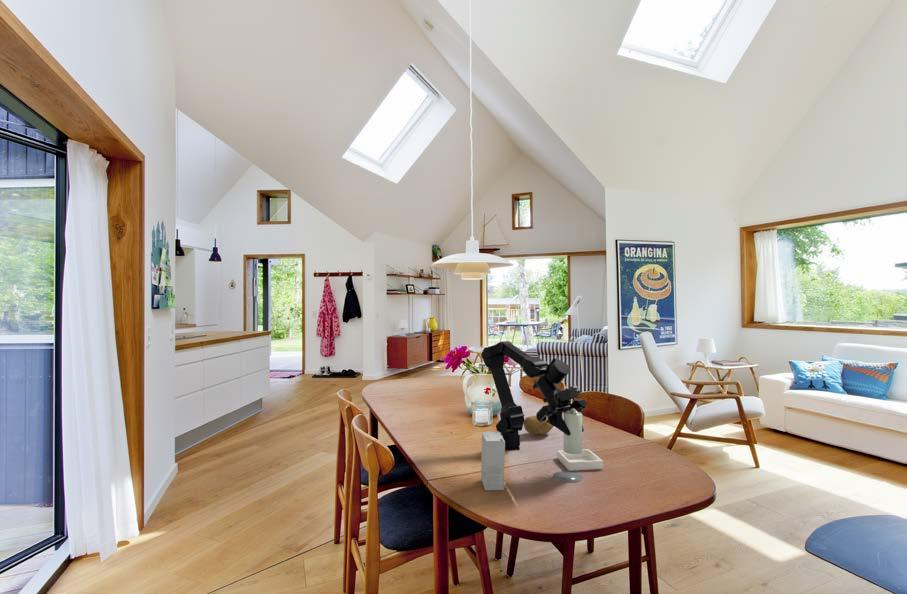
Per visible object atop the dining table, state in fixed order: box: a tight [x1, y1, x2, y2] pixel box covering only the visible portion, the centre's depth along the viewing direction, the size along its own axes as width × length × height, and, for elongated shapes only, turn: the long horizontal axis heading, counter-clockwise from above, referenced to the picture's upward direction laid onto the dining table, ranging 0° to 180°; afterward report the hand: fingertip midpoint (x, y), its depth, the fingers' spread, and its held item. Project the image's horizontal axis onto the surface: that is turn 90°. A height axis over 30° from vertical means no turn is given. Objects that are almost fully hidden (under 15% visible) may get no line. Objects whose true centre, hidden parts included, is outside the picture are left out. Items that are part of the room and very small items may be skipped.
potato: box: [523, 415, 554, 437], centre depth 183 cm, size 10×14×8 cm
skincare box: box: [480, 431, 506, 491], centre depth 133 cm, size 8×6×15 cm
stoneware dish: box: [556, 448, 604, 472], centre depth 149 cm, size 11×11×3 cm
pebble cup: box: [563, 408, 583, 454], centre depth 141 cm, size 6×6×14 cm
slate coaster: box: [552, 470, 584, 484], centre depth 138 cm, size 9×9×1 cm
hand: (576, 433), depth 140 cm, fingers closed on pebble cup, 6 cm apart
